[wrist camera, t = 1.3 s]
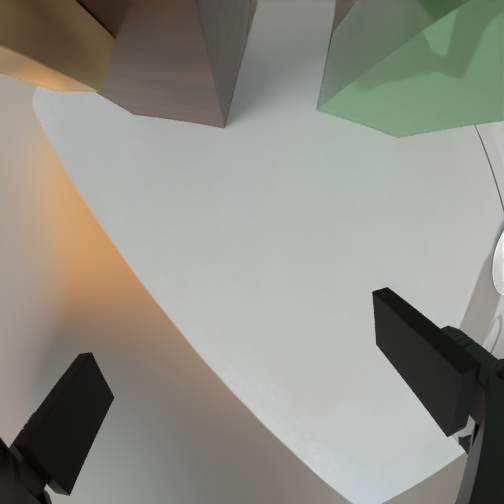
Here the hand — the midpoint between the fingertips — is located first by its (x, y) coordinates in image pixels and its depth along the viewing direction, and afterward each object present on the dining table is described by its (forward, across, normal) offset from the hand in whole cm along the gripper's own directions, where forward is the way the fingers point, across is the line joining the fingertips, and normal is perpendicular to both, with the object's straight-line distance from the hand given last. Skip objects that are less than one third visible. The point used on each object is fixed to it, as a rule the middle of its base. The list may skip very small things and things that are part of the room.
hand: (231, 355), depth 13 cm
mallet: (-8, -2, +15) cm, 17 cm away
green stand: (+21, +18, +15) cm, 32 cm away
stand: (+21, 0, +19) cm, 28 cm away
